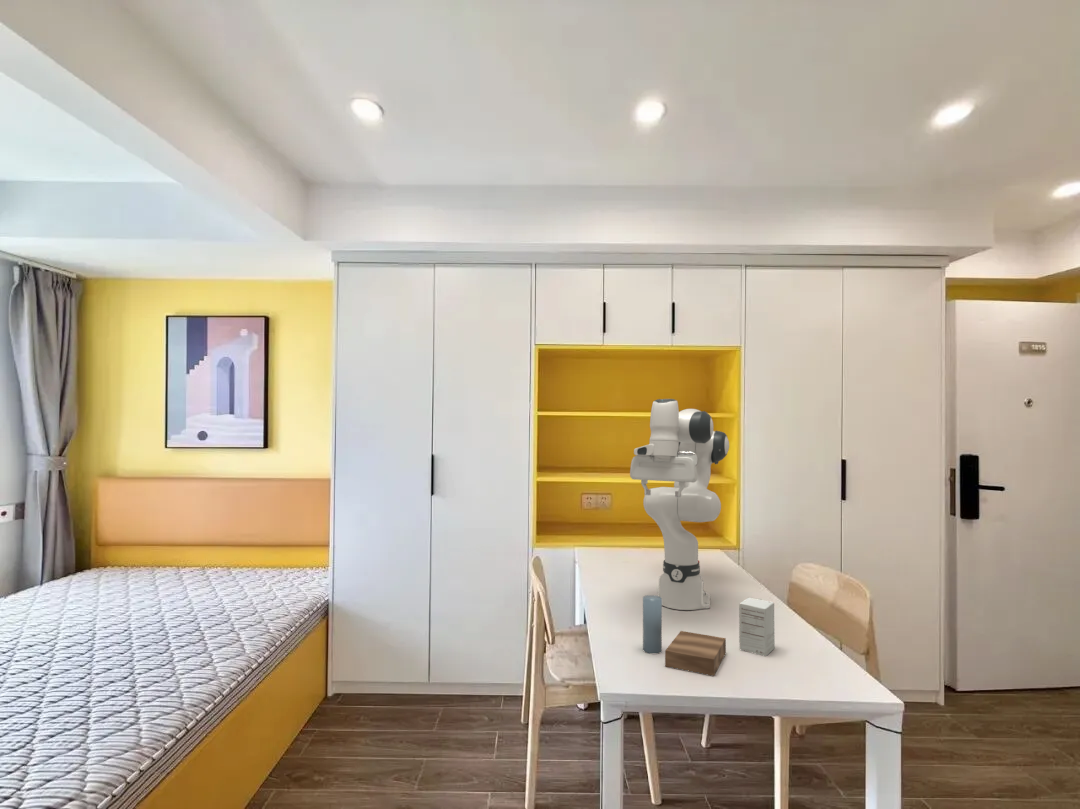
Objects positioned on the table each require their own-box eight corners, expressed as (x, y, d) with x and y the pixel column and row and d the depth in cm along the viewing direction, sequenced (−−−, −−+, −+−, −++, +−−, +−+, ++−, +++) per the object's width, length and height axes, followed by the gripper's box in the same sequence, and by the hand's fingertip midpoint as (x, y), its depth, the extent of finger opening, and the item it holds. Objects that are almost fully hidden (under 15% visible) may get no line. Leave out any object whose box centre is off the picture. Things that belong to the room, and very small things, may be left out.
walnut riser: (680, 645, 166) (680, 630, 167) (725, 653, 161) (725, 638, 161) (665, 666, 152) (665, 650, 152) (713, 676, 147) (713, 659, 147)
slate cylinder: (646, 645, 166) (646, 594, 167) (663, 648, 164) (663, 596, 164) (640, 651, 162) (640, 599, 162) (658, 655, 160) (658, 601, 160)
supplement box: (748, 642, 169) (748, 596, 170) (775, 648, 165) (775, 601, 165) (738, 649, 164) (738, 602, 164) (766, 656, 159) (765, 608, 159)
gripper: (700, 452, 183) (699, 498, 182) (635, 450, 193) (634, 494, 191) (695, 451, 178) (694, 498, 176) (629, 449, 187) (627, 494, 186)
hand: (662, 496), depth 184 cm, fingers open, 8 cm apart
